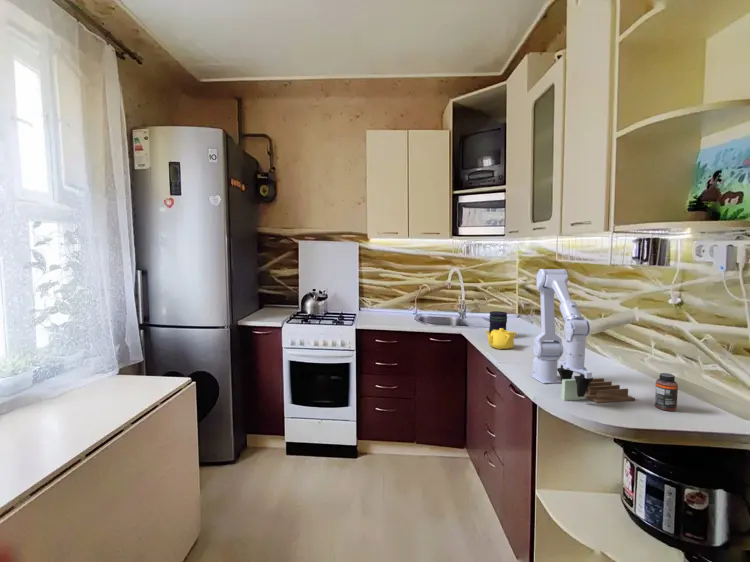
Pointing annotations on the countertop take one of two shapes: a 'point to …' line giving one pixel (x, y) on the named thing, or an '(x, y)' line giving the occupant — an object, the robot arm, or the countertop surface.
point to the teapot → (501, 338)
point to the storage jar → (497, 320)
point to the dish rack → (606, 392)
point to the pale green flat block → (569, 390)
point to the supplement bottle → (666, 392)
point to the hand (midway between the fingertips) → (573, 392)
